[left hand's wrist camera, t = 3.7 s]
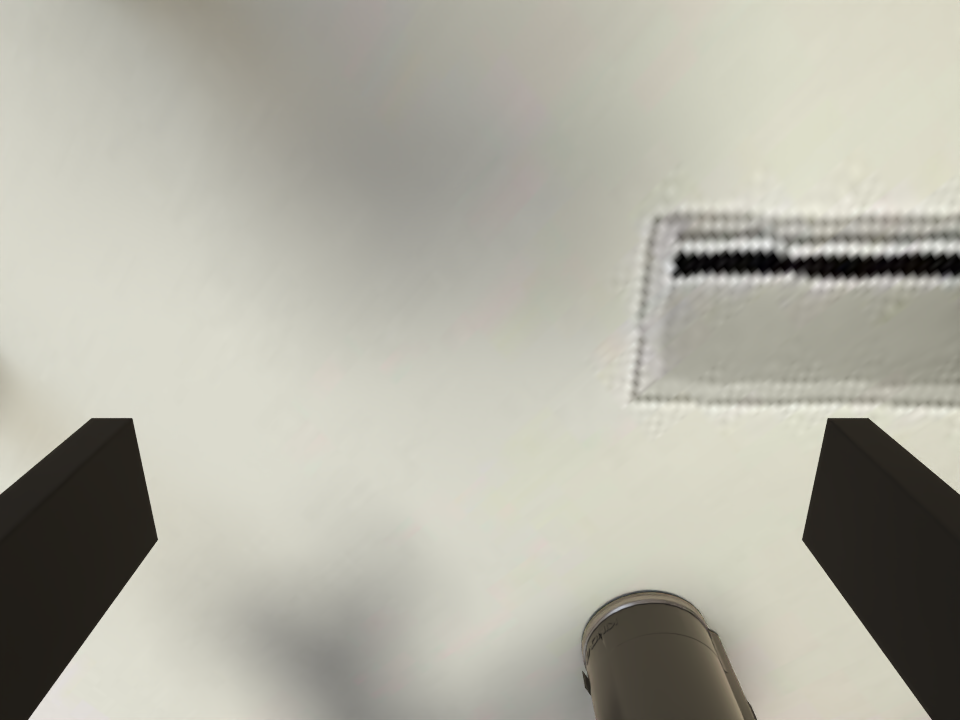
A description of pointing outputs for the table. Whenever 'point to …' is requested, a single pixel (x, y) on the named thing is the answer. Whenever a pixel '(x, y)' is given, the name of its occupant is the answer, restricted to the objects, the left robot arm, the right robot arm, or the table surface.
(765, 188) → the table surface
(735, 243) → the table surface
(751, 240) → the table surface
